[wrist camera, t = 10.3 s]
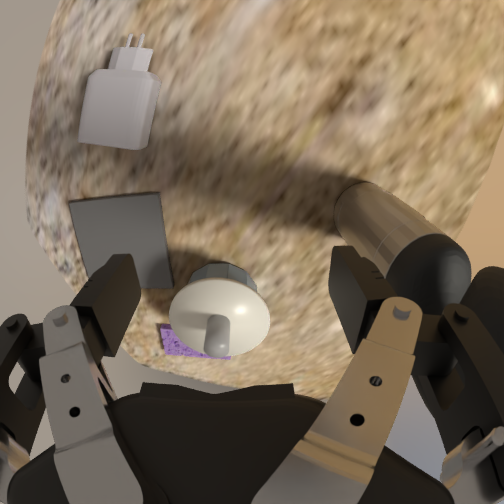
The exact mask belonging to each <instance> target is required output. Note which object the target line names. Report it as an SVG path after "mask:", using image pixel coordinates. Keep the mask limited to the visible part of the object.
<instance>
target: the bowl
mask: <svg viewBox="0 0 504 504" xmlns="http://www.w3.org/2000/svg"><path fill="white" fill-rule="evenodd" d="M214 277H215V278H227V279H232V280H236V281H239V282H241V283H244V284H245V285H247V286H249V287H251V288H252V289H254V290H255V291H256V292H257V285H256V284H255V283H254V281H253V280H252V278H251V277H250V276H249V274H248V273H247V272H246V271H244V270H242V269H240V268H238V267H236V266H233V265H231V264H229V263H224V264H208V265H206V266H204V267H202V268H200V269H199V270H197V271H195V272H193V274H192V275H191V277H190V279H189V281H188V283H187V285H188V284H190V283H192V282H194V281H197V280H200V279H205V278H214Z"/></svg>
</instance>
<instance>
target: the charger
mask: <svg viewBox="0 0 504 504" xmlns="http://www.w3.org/2000/svg"><path fill="white" fill-rule="evenodd" d="M132 36H133V34H132V33H130V34H129V36H128V39H127V42H126V46H125V47H116V48H113V52H112V55H111V59H110V62H109V66H108V69H97V70H95V71H94V72H93V73H92V74H91V75H89V77H88V82H87V86H86V91H85V96H84V101H83V106H82V112H81V118H80V125H79V132H78V140H77V141H78V142H81V143H88V144H96V145H103V146H110V147H117V148H123V149H131V150H140V149H142V148H145V147H147V146H148V140H149V135H150V130H151V125H152V120H153V116H154V111H155V107H156V102H157V98H158V94H159V90H160V86H161V81H160V80H159V78H158V77H157V75H156V74H153V73H150V72H147V70H148V66H149V63H150V59H151V56H152V52H153V50H152V49H147V48H141V46H142V42H143V39H144V36H145V34H141V36H140V39H139V42H138V46H137V47H129V45H130V42H131V39H132Z"/></svg>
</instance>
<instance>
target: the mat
mask: <svg viewBox="0 0 504 504" xmlns="http://www.w3.org/2000/svg"><path fill="white" fill-rule="evenodd" d="M69 206H70V211H71V215H72V219H73V224H74V228H75V232H76V236H77V239H78V243H79V247H80V250H81V254H82V257H83V261H84V264H85V267H86V270H87V274H88V277H89V278H90V277H91V275H92V274H93V273H94V272H95V271H97V270H98V269H99V268H101V267H102V266H104V265H105V263H106V262H107V261H108V260H109V258H110V257H111V256H112V255H113V254H127V253H130V254H131V255H132V257H133V259H134V263H135V267H136V271H137V275H138V279H139V283H140V287H141V288H173V287H174V282H173V276H172V271H171V265H170V259H169V253H168V247H167V241H166V234H165V228H164V221H163V213H162V206H161V198H160V192H159V193H146V194H134V195H124V196H114V197H105V198H96V199H87V200H79V201H72V202H71V203H69Z"/></svg>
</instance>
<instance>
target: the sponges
mask: <svg viewBox="0 0 504 504" xmlns="http://www.w3.org/2000/svg"><path fill="white" fill-rule="evenodd" d="M160 330H161V336H162V338H163V345H164V350H165V354H167V355H180V356H181V355H185V356H189V357H200V358H213V359H228V360H230V358H231V356H225V357H222V358H214V357H210V356H208V355H207V354H203V353H200V352H198V351H195V350H193V349H192V348H190V347H188V346H187V345H185V344H184V343H183V342H182V341H181V340H180V339H179V338H178V337H177V336H176V335H175V333H174V332H173V330H172V328H171V325H170V324H162V325H161V328H160Z"/></svg>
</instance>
